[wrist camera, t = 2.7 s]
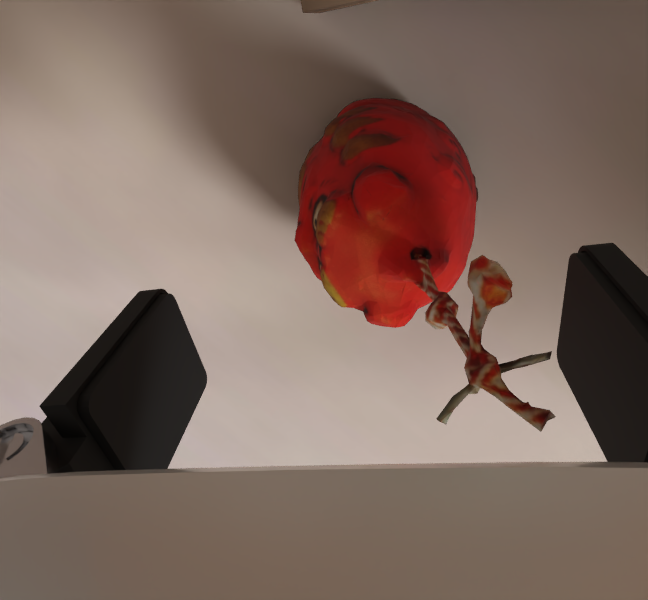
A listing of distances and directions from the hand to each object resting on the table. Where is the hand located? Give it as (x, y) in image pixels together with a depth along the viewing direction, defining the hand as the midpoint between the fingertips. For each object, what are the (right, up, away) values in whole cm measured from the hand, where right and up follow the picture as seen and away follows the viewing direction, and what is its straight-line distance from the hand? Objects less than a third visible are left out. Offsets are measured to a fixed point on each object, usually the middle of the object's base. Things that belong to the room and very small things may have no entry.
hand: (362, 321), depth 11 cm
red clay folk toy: (+2, +6, +10) cm, 12 cm away
